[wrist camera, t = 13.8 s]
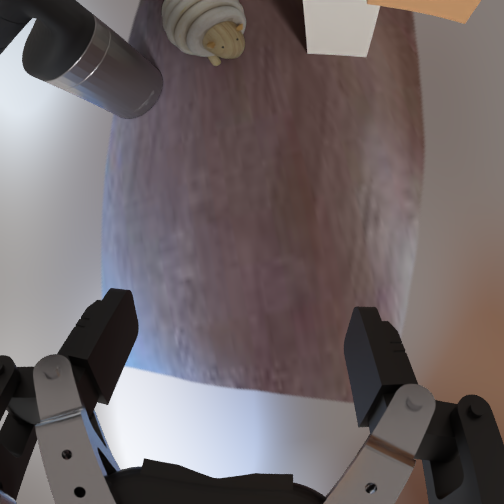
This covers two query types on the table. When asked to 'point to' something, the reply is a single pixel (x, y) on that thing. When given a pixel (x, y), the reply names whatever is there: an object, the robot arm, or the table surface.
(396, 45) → the table surface
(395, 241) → the table surface
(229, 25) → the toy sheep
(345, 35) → the pedestal
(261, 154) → the table surface
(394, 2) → the tan piece
